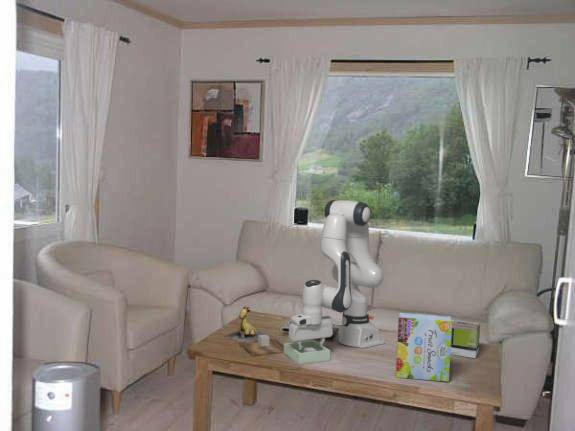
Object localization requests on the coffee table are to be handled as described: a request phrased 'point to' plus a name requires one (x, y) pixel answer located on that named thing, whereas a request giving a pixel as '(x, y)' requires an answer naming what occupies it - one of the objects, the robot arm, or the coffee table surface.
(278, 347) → the walnut tray
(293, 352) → the green bin
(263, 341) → the stone cube
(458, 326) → the tea box
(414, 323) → the snack box
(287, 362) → the coffee table surface
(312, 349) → the stone cube
